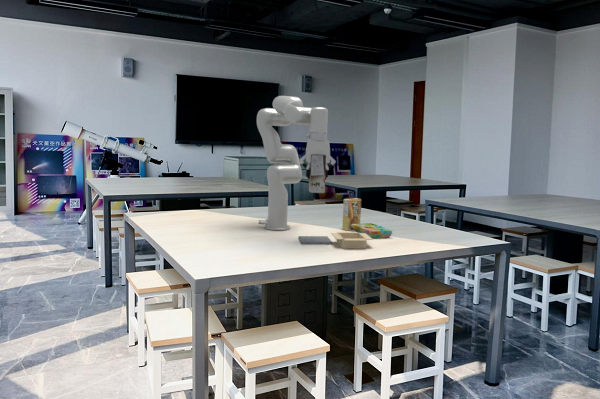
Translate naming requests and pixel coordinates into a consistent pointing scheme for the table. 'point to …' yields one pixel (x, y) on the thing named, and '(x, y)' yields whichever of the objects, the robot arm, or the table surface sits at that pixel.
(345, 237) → the carton
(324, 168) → the coffee box
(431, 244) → the table surface
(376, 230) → the puzzle game
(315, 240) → the mat
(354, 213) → the candy box
